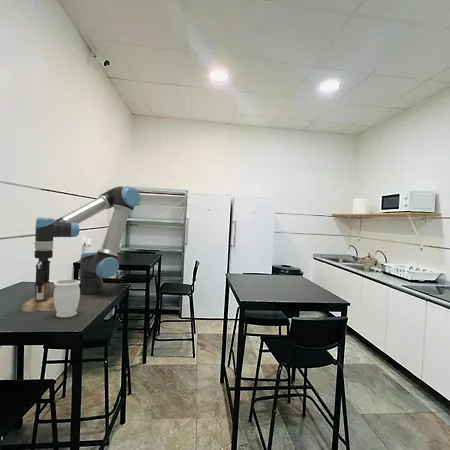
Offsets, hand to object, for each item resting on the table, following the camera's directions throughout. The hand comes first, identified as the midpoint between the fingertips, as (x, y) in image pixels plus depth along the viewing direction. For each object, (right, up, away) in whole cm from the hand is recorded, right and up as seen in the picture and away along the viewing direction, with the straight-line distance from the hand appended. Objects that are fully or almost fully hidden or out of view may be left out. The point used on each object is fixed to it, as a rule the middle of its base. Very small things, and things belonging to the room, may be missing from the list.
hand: (41, 297), depth 147 cm
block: (0, -1, 0) cm, 1 cm away
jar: (+17, -6, -10) cm, 20 cm away
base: (0, -5, 0) cm, 5 cm away
